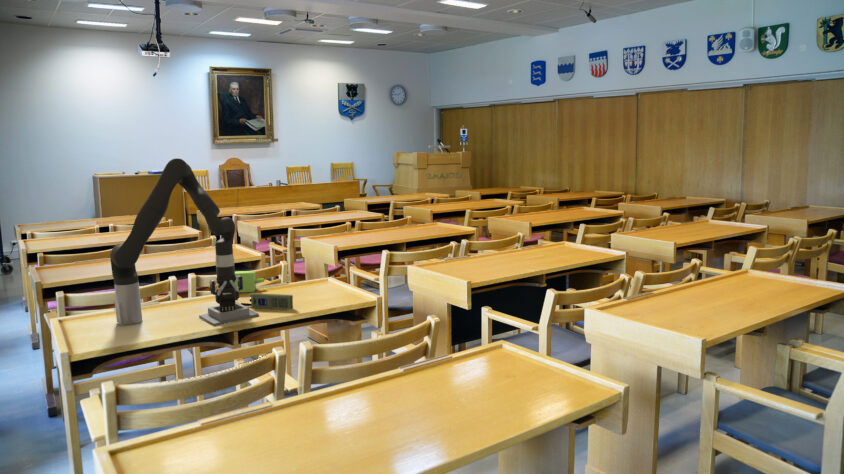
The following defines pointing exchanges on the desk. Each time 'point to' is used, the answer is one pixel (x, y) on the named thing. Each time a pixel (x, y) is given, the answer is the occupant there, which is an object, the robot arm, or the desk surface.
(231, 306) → the battery
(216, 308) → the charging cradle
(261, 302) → the handheld radio
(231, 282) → the robot arm
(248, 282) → the gearbox
